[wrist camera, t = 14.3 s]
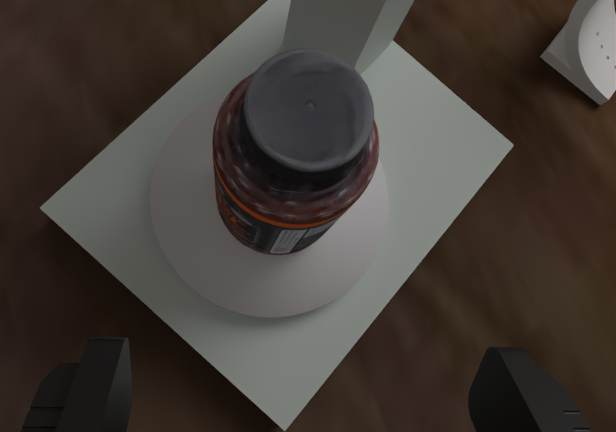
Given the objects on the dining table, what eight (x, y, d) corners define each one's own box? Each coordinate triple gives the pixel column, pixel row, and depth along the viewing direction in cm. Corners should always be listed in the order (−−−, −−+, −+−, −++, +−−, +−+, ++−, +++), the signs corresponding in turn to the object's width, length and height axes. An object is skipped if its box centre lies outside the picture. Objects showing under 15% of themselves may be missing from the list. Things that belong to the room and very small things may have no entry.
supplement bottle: (195, 172, 26) (172, 55, 15) (300, 125, 28) (348, -13, 17) (249, 279, 26) (266, 235, 15) (355, 226, 27) (442, 149, 16)
